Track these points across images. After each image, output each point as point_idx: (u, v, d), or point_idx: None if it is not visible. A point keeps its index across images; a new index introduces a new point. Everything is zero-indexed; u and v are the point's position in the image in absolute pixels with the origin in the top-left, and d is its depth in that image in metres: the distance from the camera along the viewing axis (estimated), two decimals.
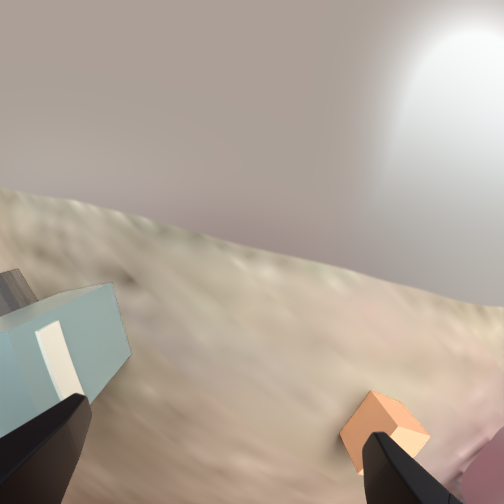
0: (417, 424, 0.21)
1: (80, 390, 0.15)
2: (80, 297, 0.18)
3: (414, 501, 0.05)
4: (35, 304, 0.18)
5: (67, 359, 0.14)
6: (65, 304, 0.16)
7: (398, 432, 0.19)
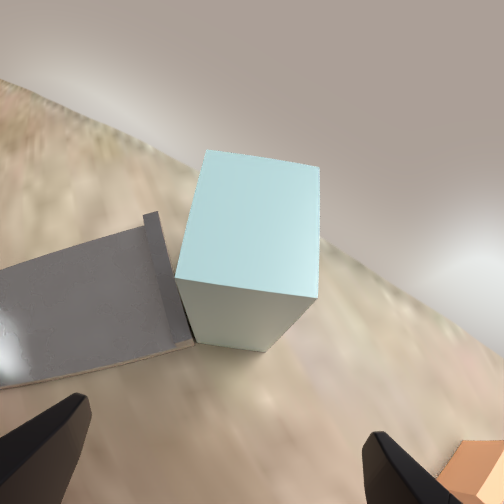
0: None
1: None
2: None
3: (414, 501, 0.05)
4: None
5: None
6: None
7: None
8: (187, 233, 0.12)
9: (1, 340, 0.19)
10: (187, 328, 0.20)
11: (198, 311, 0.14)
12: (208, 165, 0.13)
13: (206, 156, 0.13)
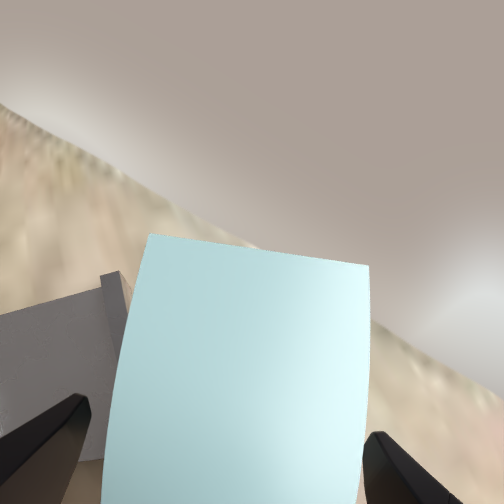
0: None
1: None
2: None
3: (414, 501, 0.05)
4: None
5: None
6: None
7: None
8: (112, 429, 0.05)
9: None
10: None
11: None
12: (150, 272, 0.07)
13: (147, 250, 0.07)
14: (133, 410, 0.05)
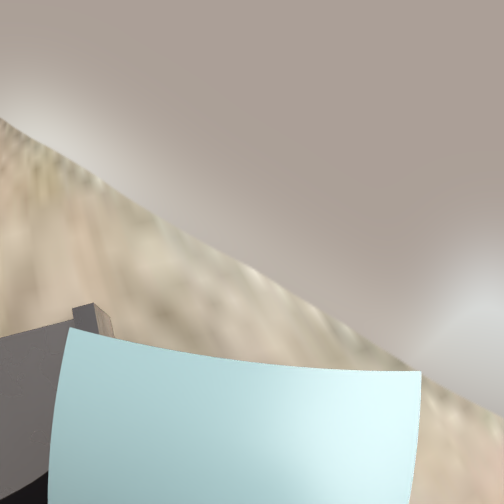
0: None
1: None
2: None
3: None
4: None
5: None
6: None
7: None
8: None
9: None
10: None
11: None
12: (73, 395, 0.03)
13: (67, 356, 0.04)
14: None
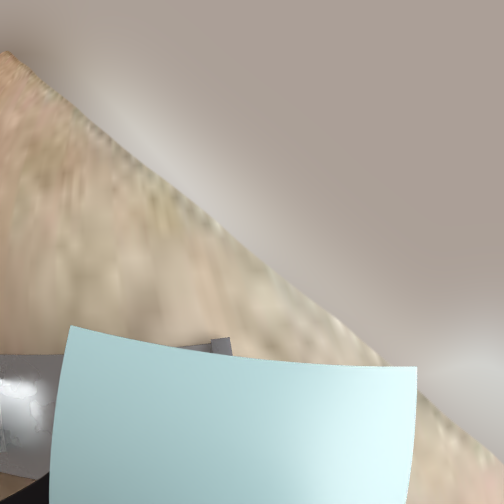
0: None
1: None
2: None
3: None
4: None
5: None
6: None
7: None
8: None
9: (33, 434, 0.17)
10: None
11: None
12: (74, 392, 0.04)
13: (68, 354, 0.04)
14: None
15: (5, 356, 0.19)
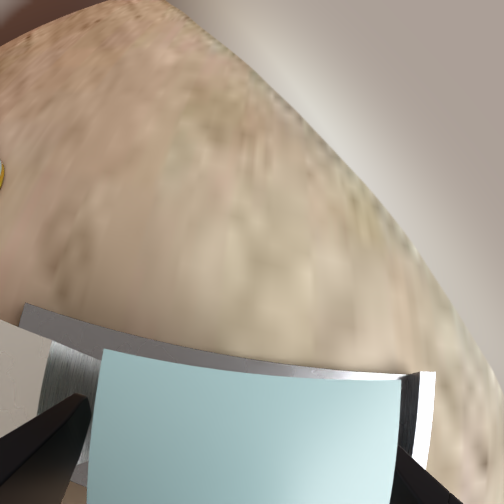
0: None
1: None
2: None
3: (414, 501, 0.05)
4: None
5: None
6: None
7: None
8: None
9: None
10: None
11: None
12: (109, 406, 0.04)
13: (103, 374, 0.04)
14: None
15: (130, 336, 0.17)
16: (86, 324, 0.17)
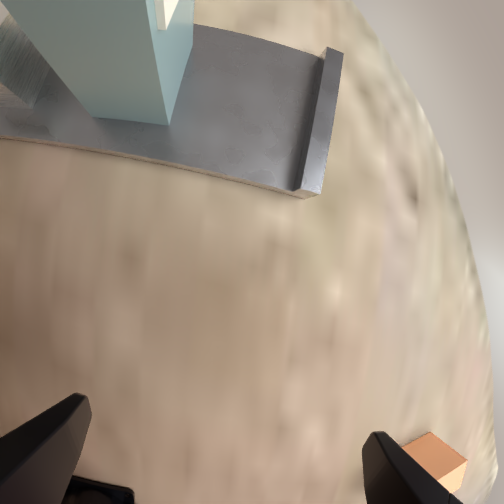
0: None
1: (171, 11, 0.08)
2: None
3: (414, 501, 0.05)
4: None
5: None
6: None
7: (462, 466, 0.18)
8: None
9: None
10: (321, 181, 0.18)
11: (43, 40, 0.08)
12: None
13: None
14: None
15: None
16: None
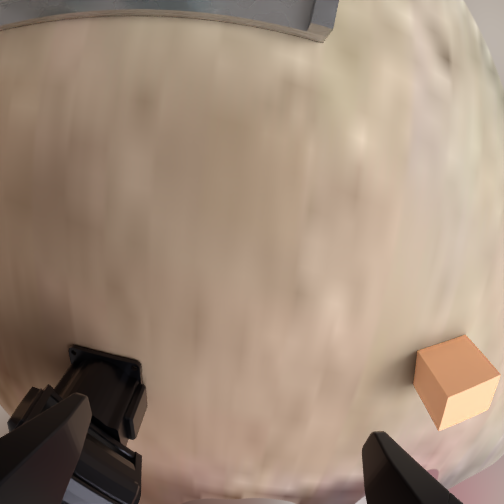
0: None
1: None
2: None
3: (414, 501, 0.05)
4: None
5: None
6: None
7: (494, 381, 0.17)
8: None
9: None
10: (333, 17, 0.13)
11: None
12: None
13: None
14: None
15: None
16: None
